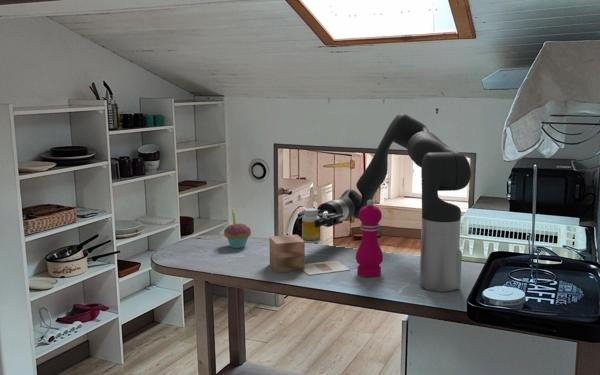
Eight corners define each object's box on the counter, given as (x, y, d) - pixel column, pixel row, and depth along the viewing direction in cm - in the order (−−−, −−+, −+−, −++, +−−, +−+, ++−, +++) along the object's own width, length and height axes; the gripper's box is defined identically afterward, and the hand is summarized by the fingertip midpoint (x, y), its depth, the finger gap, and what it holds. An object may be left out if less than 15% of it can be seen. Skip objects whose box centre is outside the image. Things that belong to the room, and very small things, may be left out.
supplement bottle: (300, 239, 166) (299, 208, 164) (317, 238, 167) (317, 207, 166) (304, 244, 161) (304, 211, 159) (322, 242, 162) (322, 210, 160)
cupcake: (240, 251, 170) (239, 212, 168) (218, 247, 175) (217, 209, 173) (256, 244, 177) (255, 207, 175) (235, 241, 182) (234, 205, 180)
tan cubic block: (297, 261, 159) (297, 234, 158) (304, 270, 152) (304, 241, 150) (269, 264, 157) (269, 236, 156) (276, 272, 149) (275, 243, 148)
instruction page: (336, 261, 160) (336, 260, 160) (350, 270, 151) (350, 269, 151) (297, 265, 155) (297, 264, 155) (308, 275, 147) (308, 274, 147)
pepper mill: (382, 278, 144) (383, 202, 141) (354, 277, 146) (354, 201, 142) (383, 270, 151) (385, 197, 148) (356, 268, 153) (357, 196, 149)
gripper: (312, 199, 178) (285, 208, 164) (353, 202, 171) (329, 212, 157) (312, 222, 179) (285, 233, 165) (353, 226, 172) (329, 238, 158)
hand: (307, 222), depth 161 cm, fingers closed on supplement bottle, 5 cm apart
